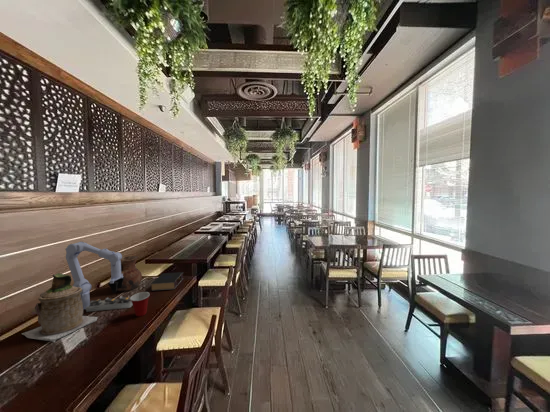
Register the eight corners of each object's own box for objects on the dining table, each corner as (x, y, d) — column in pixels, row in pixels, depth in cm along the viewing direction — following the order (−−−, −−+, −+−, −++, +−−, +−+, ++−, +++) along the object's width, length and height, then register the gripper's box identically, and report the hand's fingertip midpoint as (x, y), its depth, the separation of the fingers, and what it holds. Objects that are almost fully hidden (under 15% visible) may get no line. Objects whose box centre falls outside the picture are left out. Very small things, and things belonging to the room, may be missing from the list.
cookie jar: (99, 319, 145) (96, 267, 143) (52, 344, 121) (48, 281, 120) (69, 315, 151) (66, 265, 150) (19, 338, 128) (14, 278, 126)
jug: (117, 285, 202) (115, 256, 202) (144, 282, 209) (143, 253, 208) (107, 295, 181) (105, 262, 180) (138, 291, 188) (137, 259, 187)
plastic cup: (128, 320, 143) (127, 300, 143) (134, 311, 154) (133, 293, 153) (148, 317, 146) (147, 297, 145) (152, 309, 156) (151, 291, 156)
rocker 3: (118, 301, 159) (119, 298, 159) (120, 299, 162) (121, 295, 162) (126, 302, 160) (127, 299, 160) (128, 300, 163) (129, 297, 163)
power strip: (86, 312, 155) (85, 304, 155) (93, 306, 163) (92, 299, 163) (130, 307, 160) (129, 300, 159) (134, 302, 167) (134, 295, 167)
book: (183, 279, 214) (183, 272, 213) (174, 290, 189) (174, 281, 189) (163, 280, 212) (162, 273, 212) (151, 291, 187) (151, 283, 187)
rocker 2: (104, 302, 158) (105, 299, 158) (107, 300, 161) (107, 297, 161) (112, 303, 158) (113, 300, 158) (115, 301, 162) (115, 298, 162)
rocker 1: (90, 305, 156) (89, 302, 156) (93, 303, 159) (92, 300, 159) (98, 303, 157) (97, 300, 157) (101, 301, 160) (100, 297, 160)
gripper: (117, 273, 157) (118, 293, 158) (127, 267, 171) (128, 285, 172) (105, 274, 156) (106, 294, 156) (116, 267, 170) (117, 286, 171)
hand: (117, 290), depth 164 cm, fingers open, 7 cm apart
